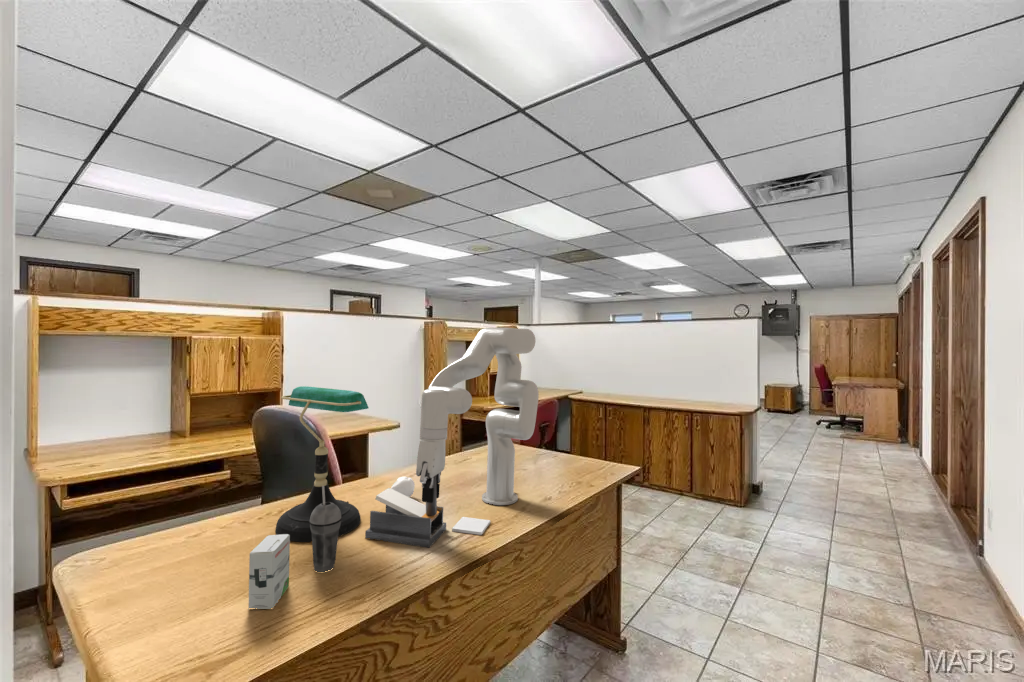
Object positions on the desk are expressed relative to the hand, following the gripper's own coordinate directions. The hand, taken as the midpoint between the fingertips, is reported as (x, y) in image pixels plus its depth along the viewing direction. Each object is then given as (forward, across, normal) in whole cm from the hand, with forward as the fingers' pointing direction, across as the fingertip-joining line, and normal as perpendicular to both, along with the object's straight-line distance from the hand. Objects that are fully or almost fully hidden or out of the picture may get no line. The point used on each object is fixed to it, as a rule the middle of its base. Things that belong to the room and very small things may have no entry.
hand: (430, 499), depth 125 cm
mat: (+11, -11, +9) cm, 18 cm away
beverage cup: (+12, +22, -17) cm, 30 cm away
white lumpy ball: (+11, -26, -21) cm, 35 cm away
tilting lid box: (+11, -1, -7) cm, 13 cm away
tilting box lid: (+3, -1, -7) cm, 8 cm away
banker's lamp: (+12, +1, -34) cm, 36 cm away
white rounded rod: (+4, -1, 0) cm, 4 cm away
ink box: (+12, +36, -20) cm, 43 cm away
